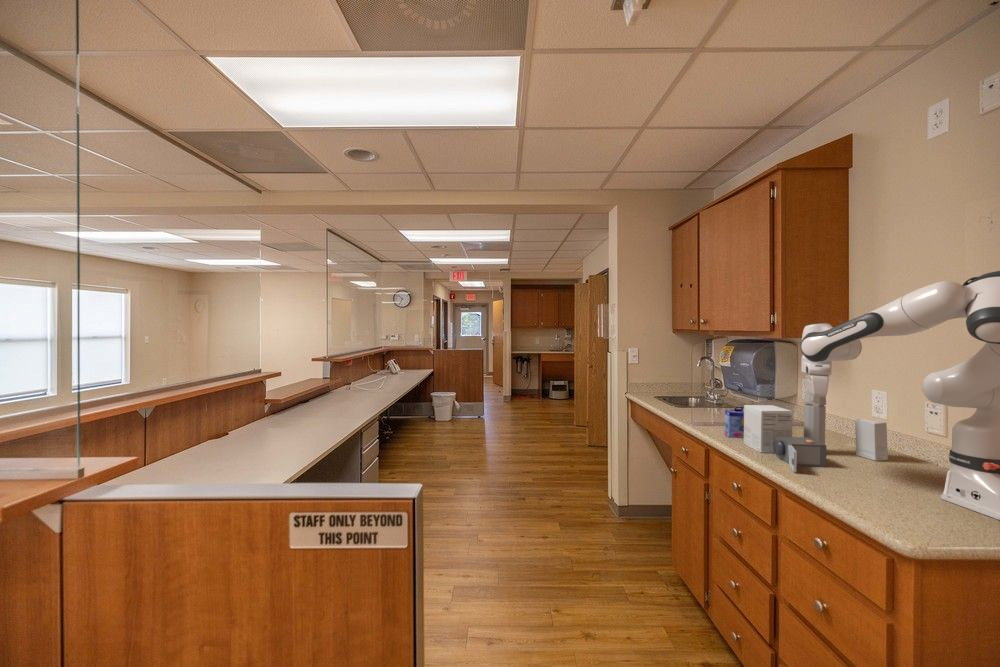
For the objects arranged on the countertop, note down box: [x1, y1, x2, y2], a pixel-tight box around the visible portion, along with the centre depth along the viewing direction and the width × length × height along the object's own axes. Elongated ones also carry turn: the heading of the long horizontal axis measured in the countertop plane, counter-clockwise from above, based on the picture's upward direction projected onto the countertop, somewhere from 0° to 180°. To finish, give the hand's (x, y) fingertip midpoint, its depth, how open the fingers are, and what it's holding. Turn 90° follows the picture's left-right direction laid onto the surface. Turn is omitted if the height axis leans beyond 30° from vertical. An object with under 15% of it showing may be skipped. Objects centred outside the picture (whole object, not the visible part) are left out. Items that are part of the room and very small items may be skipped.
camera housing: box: [773, 436, 827, 467], centre depth 164 cm, size 11×14×9 cm
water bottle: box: [802, 390, 827, 445], centre depth 176 cm, size 9×8×25 cm
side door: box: [787, 444, 798, 473], centre depth 155 cm, size 1×11×7 cm, turn 154°
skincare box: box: [854, 418, 889, 462], centre depth 169 cm, size 8×6×15 cm
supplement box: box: [743, 404, 794, 454], centre depth 180 cm, size 13×13×18 cm
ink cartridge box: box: [724, 406, 744, 439], centre depth 200 cm, size 10×6×14 cm, turn 85°
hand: (815, 405), depth 154 cm, fingers closed
